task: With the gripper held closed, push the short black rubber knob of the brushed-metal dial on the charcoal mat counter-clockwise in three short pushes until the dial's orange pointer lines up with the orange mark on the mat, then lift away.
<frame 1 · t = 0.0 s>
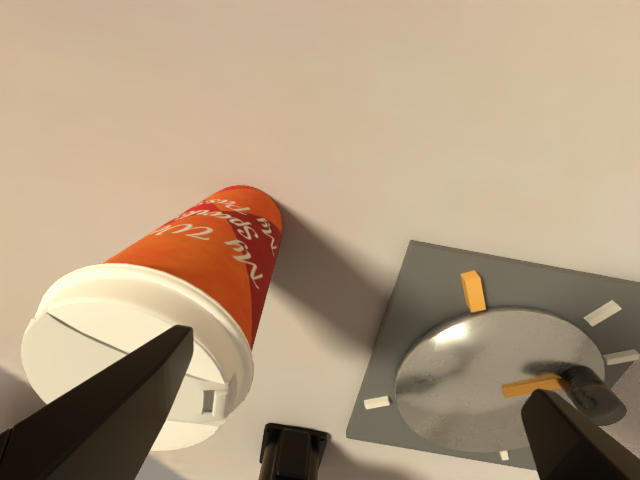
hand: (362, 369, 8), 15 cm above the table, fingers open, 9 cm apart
paper cup: (244, 221, 23), on the table
dial: (500, 403, 25), point 3 cm above the table, hinge at -60.0°
mat: (484, 371, 27), on the table
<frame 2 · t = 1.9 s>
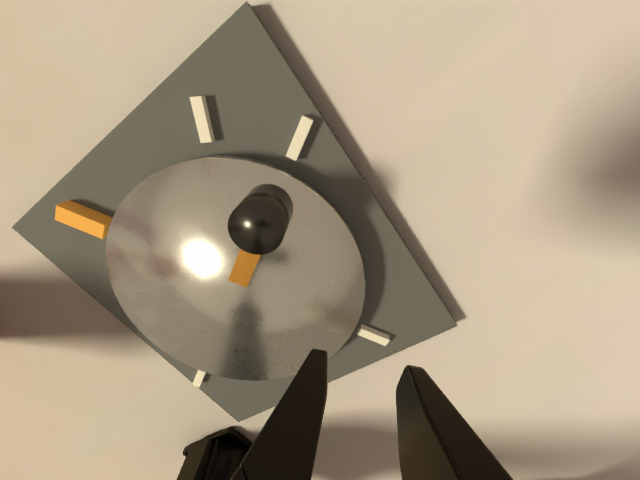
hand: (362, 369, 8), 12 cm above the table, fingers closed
dial: (230, 299, 19), point 3 cm above the table, hinge at -60.0°
mat: (244, 271, 21), on the table
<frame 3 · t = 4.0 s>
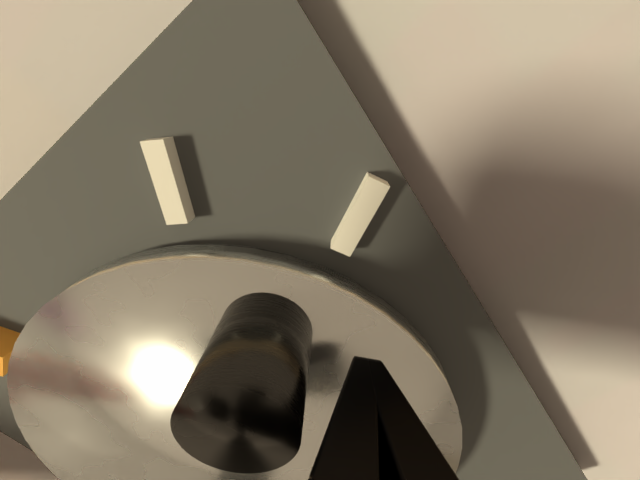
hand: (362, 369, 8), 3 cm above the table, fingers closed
mat: (249, 401, 13), on the table
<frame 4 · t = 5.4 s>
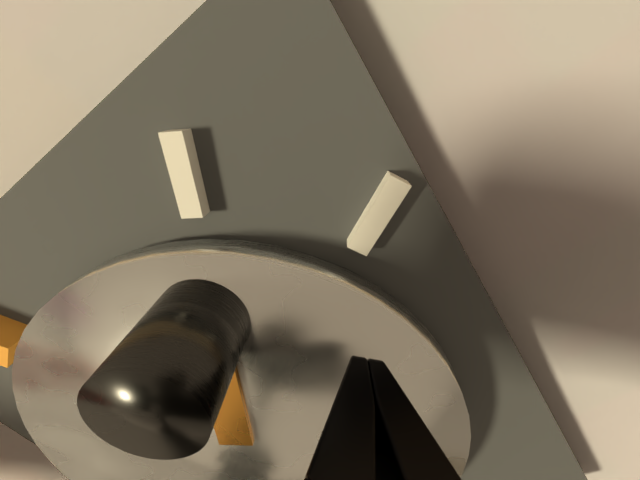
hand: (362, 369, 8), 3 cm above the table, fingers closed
mat: (254, 398, 13), on the table
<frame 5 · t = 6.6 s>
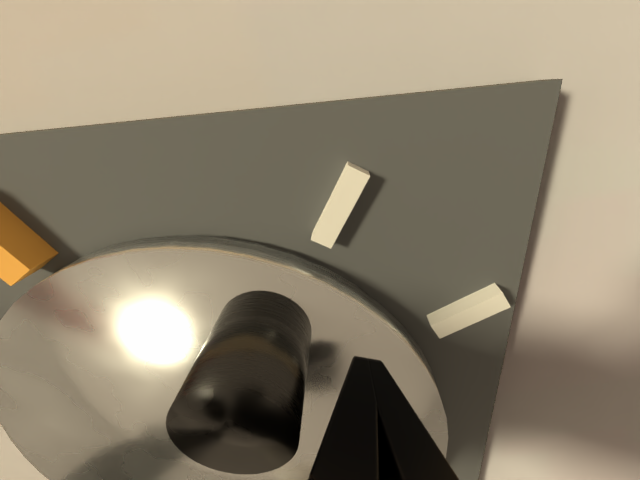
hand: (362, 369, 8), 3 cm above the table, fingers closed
dial: (208, 479, 10), point 3 cm above the table, hinge at -25.9°, touching gripper
mat: (236, 397, 13), on the table
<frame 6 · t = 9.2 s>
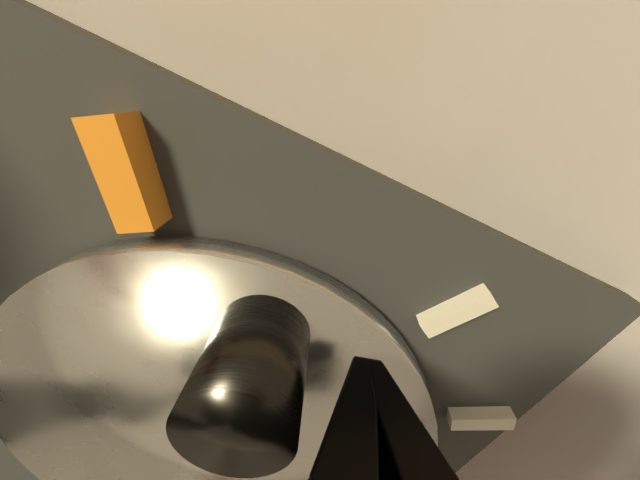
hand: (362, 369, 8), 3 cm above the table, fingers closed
dial: (198, 479, 10), point 3 cm above the table, hinge at 1.1°, touching gripper
mat: (228, 397, 13), on the table
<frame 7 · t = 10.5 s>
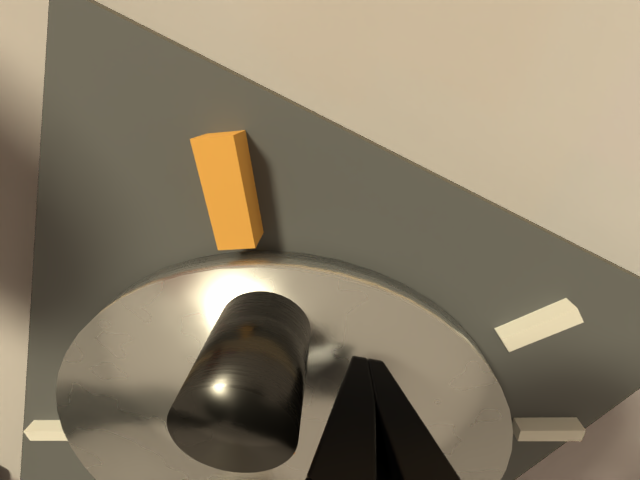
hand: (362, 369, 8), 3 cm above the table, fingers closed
mat: (288, 405, 13), on the table
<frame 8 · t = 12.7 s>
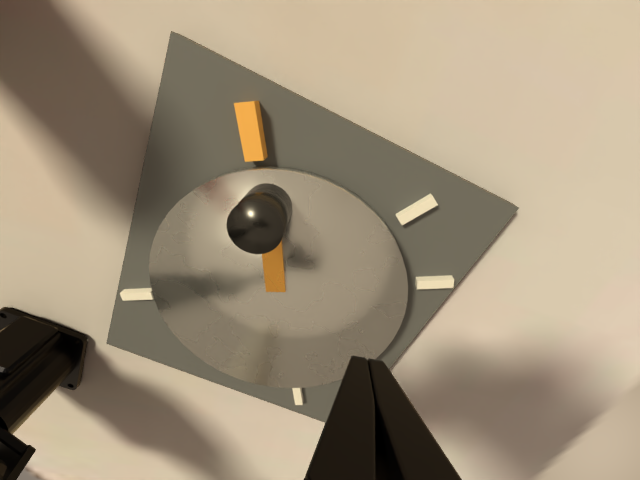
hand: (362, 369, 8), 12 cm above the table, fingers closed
dial: (273, 308, 19), point 3 cm above the table, hinge at 25.9°
mat: (282, 279, 21), on the table
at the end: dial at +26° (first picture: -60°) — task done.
